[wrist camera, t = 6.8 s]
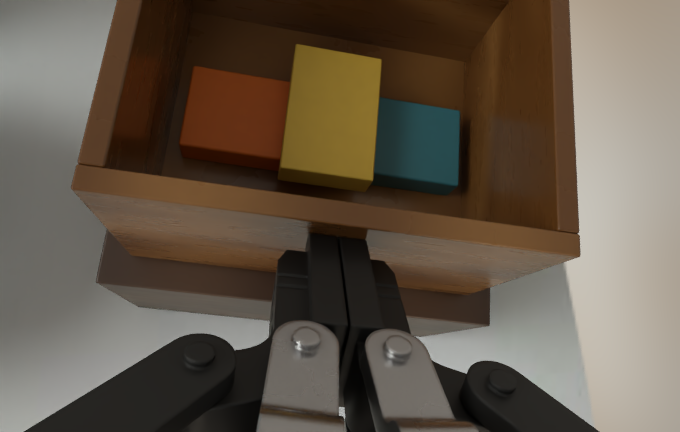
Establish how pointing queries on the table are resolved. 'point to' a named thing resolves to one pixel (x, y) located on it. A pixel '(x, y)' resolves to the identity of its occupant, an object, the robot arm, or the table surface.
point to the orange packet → (234, 118)
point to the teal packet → (417, 147)
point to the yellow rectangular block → (331, 119)
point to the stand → (259, 292)
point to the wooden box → (333, 203)
